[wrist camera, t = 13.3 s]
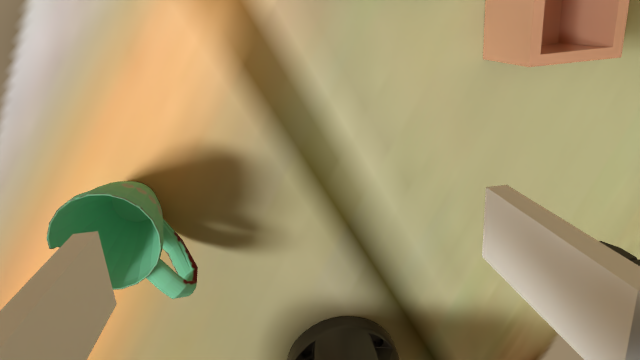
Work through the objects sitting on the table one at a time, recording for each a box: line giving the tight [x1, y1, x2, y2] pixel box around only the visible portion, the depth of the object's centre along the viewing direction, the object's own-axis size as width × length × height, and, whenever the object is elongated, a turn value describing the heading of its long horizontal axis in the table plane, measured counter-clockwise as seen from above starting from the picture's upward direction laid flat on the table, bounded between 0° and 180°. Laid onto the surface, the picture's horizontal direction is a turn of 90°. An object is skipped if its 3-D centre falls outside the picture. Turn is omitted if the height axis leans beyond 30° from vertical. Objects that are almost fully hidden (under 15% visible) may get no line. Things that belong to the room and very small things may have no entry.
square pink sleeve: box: [483, 0, 629, 67], centre depth 43 cm, size 9×9×9 cm
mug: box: [47, 181, 198, 299], centre depth 45 cm, size 15×10×10 cm
